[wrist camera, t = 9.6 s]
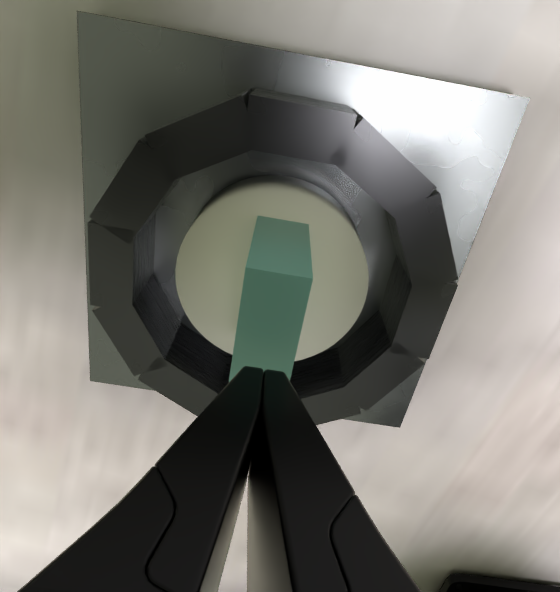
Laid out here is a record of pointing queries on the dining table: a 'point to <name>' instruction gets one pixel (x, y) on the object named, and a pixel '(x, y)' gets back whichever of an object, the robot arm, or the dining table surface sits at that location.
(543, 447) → the dining table surface
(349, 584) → the robot arm
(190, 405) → the square ring flange
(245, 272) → the cap
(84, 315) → the dining table surface
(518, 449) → the dining table surface
